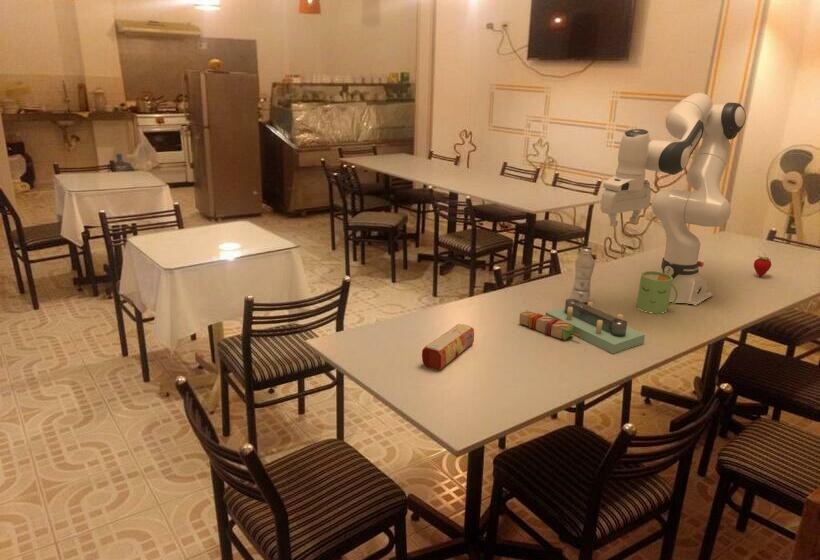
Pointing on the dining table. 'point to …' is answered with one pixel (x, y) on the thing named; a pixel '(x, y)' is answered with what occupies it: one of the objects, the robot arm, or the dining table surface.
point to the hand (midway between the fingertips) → (623, 224)
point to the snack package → (447, 346)
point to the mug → (655, 292)
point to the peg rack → (599, 332)
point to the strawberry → (762, 265)
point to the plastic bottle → (583, 275)
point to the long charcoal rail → (597, 318)
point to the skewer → (548, 325)
